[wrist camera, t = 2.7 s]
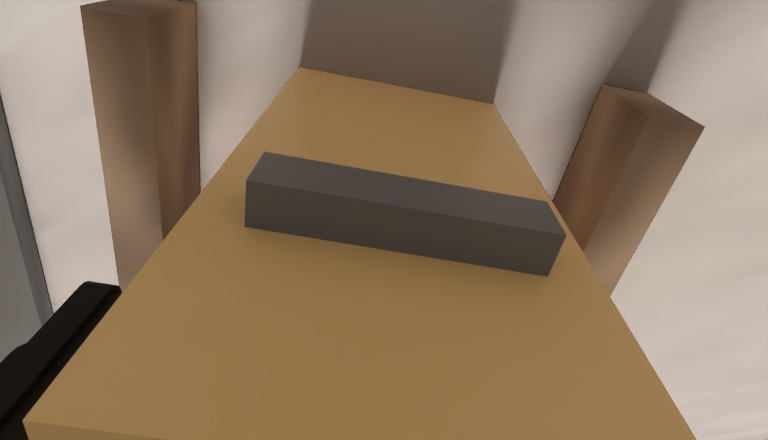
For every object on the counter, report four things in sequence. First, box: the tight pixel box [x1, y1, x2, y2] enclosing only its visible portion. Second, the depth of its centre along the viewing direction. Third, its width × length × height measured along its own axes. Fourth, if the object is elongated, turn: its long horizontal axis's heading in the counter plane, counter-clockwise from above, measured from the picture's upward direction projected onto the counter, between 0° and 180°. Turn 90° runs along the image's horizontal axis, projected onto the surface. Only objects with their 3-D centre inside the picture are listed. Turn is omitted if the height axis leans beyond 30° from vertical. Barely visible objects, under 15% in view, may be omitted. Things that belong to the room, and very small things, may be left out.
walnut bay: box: [80, 0, 705, 296], centre depth 13 cm, size 13×12×2 cm
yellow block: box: [22, 67, 696, 440], centre depth 10 cm, size 10×5×10 cm, turn 170°
